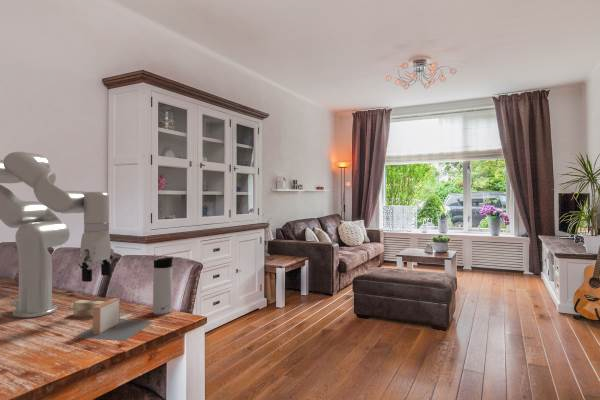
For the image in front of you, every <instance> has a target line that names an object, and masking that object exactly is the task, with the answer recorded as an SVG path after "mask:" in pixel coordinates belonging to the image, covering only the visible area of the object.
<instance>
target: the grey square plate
mask: <svg viewBox="0 0 600 400" xmlns="http://www.w3.org/2000/svg"><path fill="white" fill-rule="evenodd" d="M153 323H154V321H143V320H128V319H127V320H126V319H120V323H119V324H117V325H116V326H114V327H112V328H110V329H108V330H107V331H105V332H103V333H101V334H99V335H97V334H93V326H92V327H90V328H88V329H86V330H85V331H83V332H80V333H79V334H76V335H74V336H73V338H75V339H76V338H78V339H92V340H105V341H107V340H108V341H109V340H110V341H122V342H124V341H127V340H128V339H130V338H132V337H134V336H135V335H136V334H138V333H140V332H141V331H143V330H144V329H145V328H148V327H149V326H150V325H152V324H153Z"/></svg>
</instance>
